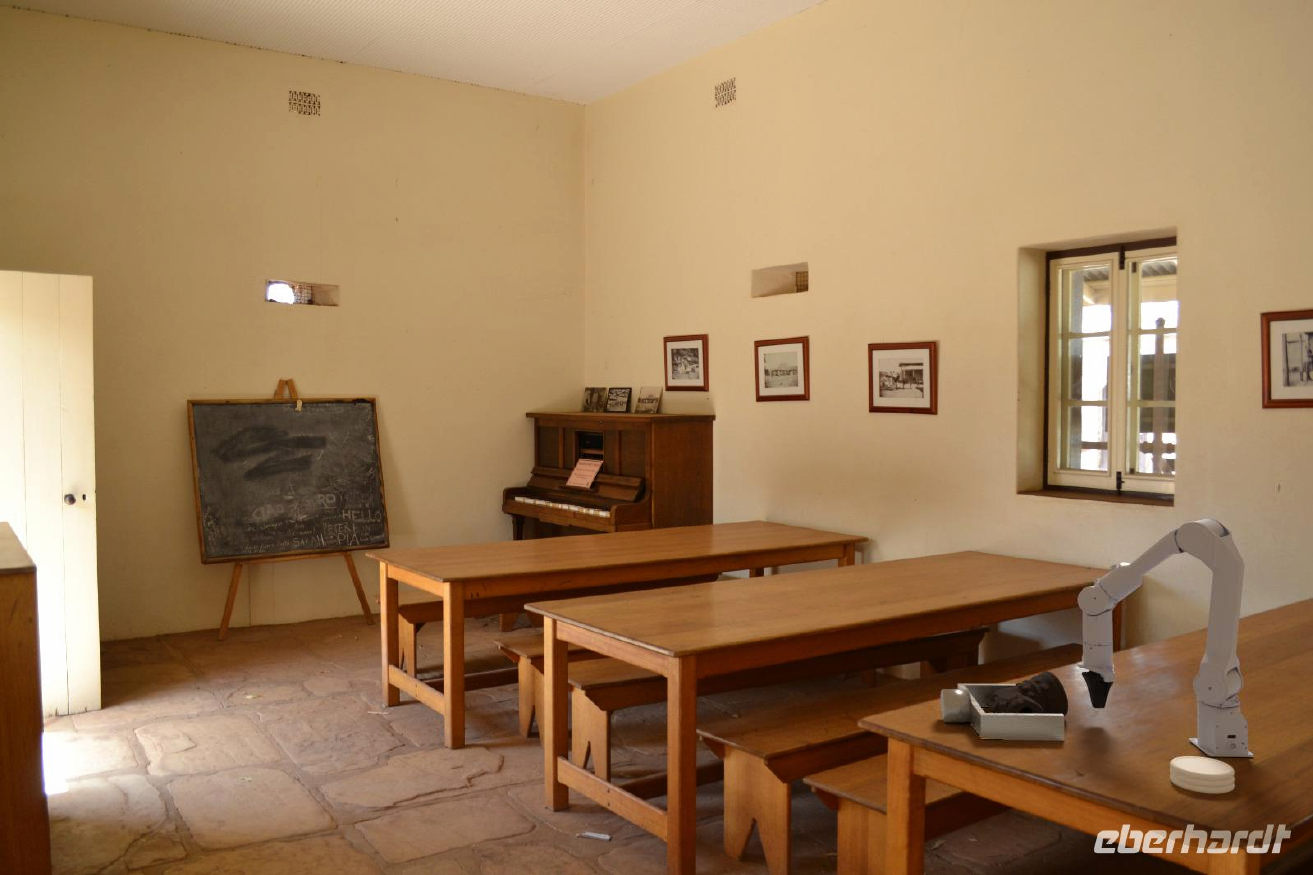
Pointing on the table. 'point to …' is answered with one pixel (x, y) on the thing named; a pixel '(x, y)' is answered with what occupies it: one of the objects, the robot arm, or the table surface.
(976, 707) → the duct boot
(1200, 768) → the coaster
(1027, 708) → the pipe
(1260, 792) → the table surface
